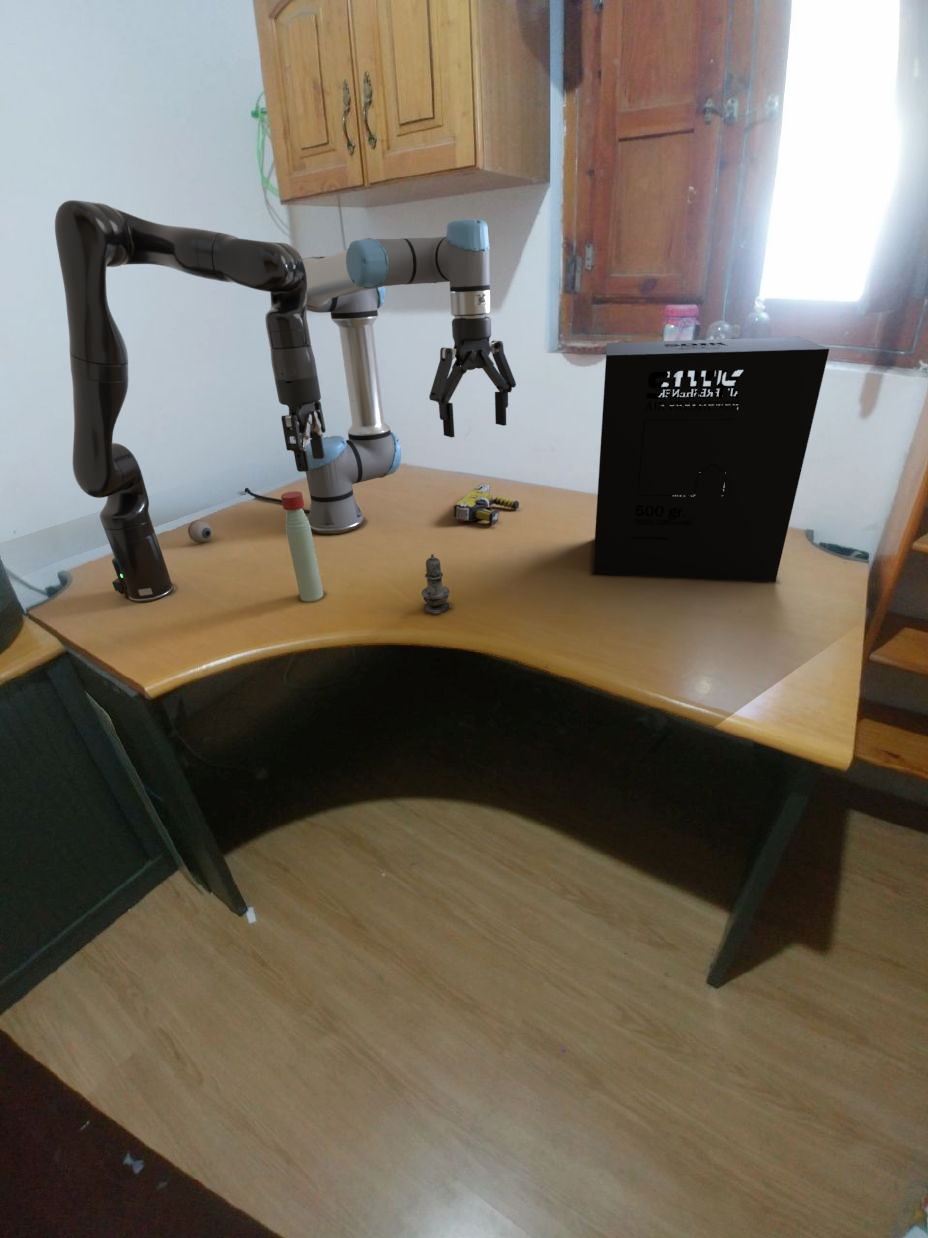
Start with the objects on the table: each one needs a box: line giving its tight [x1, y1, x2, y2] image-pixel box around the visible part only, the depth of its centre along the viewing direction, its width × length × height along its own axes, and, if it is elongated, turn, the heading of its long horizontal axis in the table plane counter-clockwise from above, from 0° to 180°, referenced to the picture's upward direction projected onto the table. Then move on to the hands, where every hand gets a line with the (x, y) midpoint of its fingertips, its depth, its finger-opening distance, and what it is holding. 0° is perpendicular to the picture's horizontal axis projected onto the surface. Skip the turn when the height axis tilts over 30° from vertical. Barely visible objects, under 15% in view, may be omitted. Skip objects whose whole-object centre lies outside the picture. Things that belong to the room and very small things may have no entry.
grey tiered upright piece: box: [420, 553, 451, 614], centre depth 122 cm, size 6×6×12 cm
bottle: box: [284, 508, 324, 603], centre depth 127 cm, size 5×5×23 cm
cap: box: [280, 490, 305, 511], centre depth 121 cm, size 4×4×3 cm
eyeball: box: [187, 519, 213, 544], centre depth 162 cm, size 6×6×6 cm
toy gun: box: [452, 482, 520, 526], centre depth 172 cm, size 5×24×15 cm
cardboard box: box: [592, 336, 830, 583], centre depth 128 cm, size 38×20×45 cm, turn 78°
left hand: (311, 464), depth 115 cm, fingers open, 8 cm apart
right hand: (475, 430), depth 126 cm, fingers open, 13 cm apart
